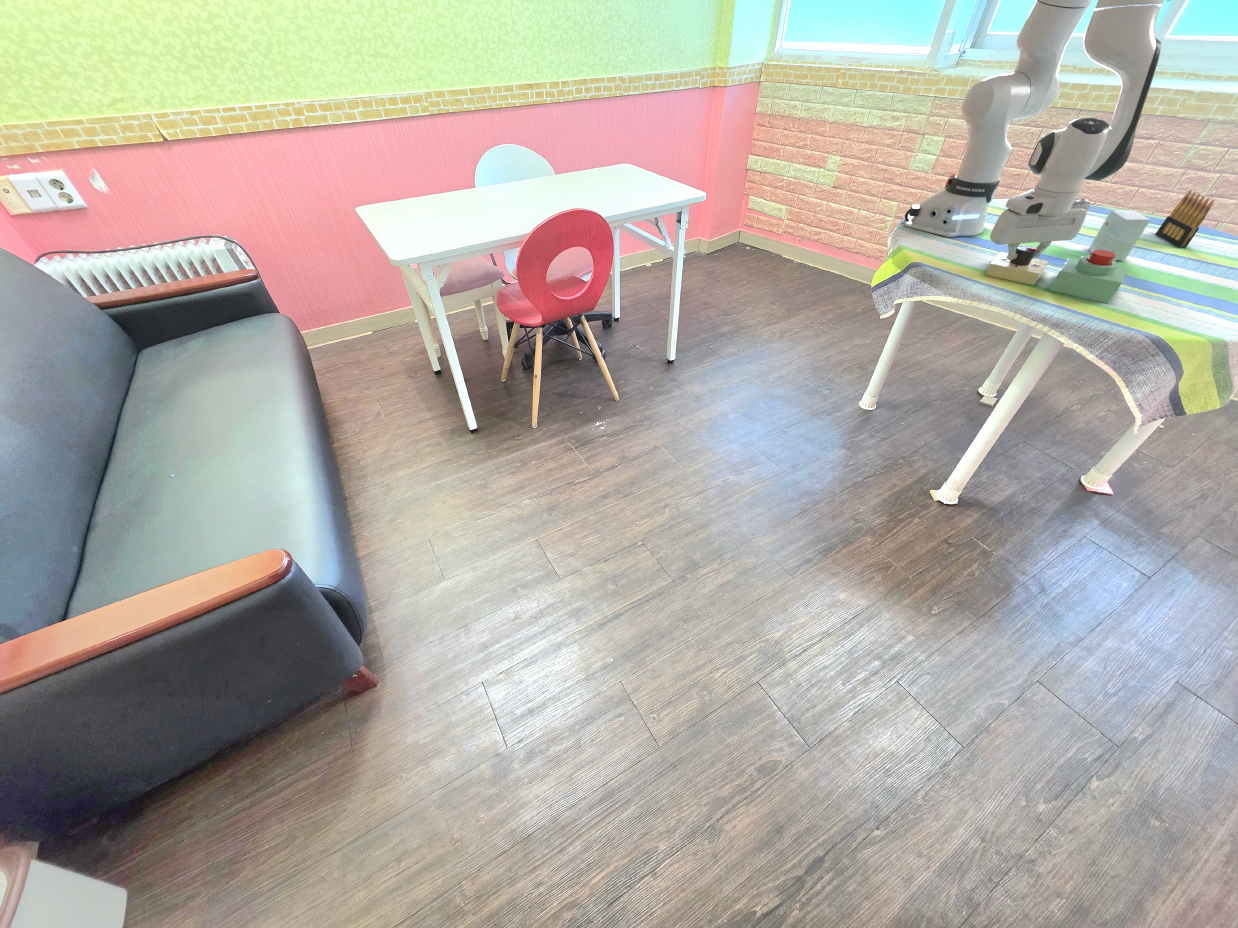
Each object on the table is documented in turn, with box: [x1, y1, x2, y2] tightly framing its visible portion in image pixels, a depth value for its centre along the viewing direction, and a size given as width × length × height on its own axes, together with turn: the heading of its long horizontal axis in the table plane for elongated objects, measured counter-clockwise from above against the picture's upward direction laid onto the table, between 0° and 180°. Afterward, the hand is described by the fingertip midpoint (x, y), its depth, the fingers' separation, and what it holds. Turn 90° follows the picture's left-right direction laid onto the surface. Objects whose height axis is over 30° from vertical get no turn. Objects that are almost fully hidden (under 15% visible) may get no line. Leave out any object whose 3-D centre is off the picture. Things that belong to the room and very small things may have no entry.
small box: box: [1088, 209, 1151, 261], centre depth 133 cm, size 8×6×10 cm
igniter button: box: [1087, 250, 1116, 266], centre depth 118 cm, size 4×4×2 cm
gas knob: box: [1010, 244, 1037, 265], centre depth 128 cm, size 4×4×4 cm
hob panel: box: [985, 251, 1049, 286], centre depth 130 cm, size 11×10×3 cm
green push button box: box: [1048, 255, 1129, 304], centre depth 121 cm, size 12×10×7 cm
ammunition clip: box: [1155, 189, 1215, 248], centre depth 138 cm, size 11×2×12 cm, turn 172°
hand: (1021, 259), depth 128 cm, fingers closed on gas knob, 4 cm apart
